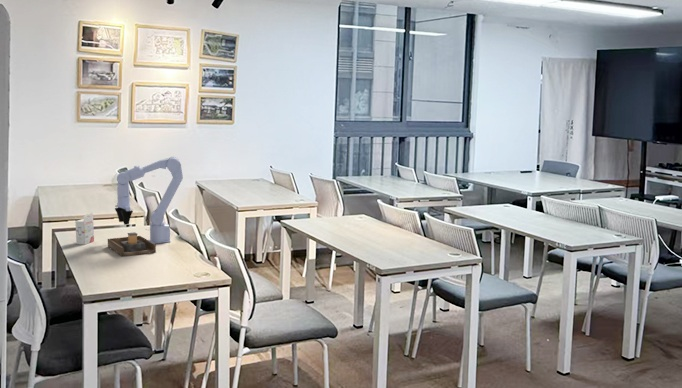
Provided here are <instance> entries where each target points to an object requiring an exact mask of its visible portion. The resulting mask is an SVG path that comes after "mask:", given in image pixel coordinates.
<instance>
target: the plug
mask: <svg viewBox="0 0 682 388" xmlns="http://www.w3.org/2000/svg"><path fill="white" fill-rule="evenodd" d="M137 236H139V235H138V233H137V232H127V237H128V244H137Z"/></svg>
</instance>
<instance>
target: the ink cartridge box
mask: <svg viewBox="0 0 682 388" xmlns="http://www.w3.org/2000/svg"><path fill="white" fill-rule="evenodd" d="M82 217H83V218H81V219H78V220H75V241H76V243H75V244H76V245H84V246H85V245H88V244H91V243H93V242H94V241H95V229H94V225H95V224H94V213H93V212H91V213H87V214H85V215H83V216H82Z"/></svg>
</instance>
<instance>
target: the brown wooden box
mask: <svg viewBox="0 0 682 388" xmlns="http://www.w3.org/2000/svg"><path fill="white" fill-rule="evenodd" d="M149 240H150V239H147V238H145V237H143V236H141V235H137V244H128V236H125V237H114V238H107V247H108V248H109V249H110V248H111V249H110V250H111V251H113V252H114V253H116V254H117V255H120V256H121V257H130V256H139V255H145V254H146V255H147V254H156V253H157V249H156V247H157V245H156V244H157V243H152V242H150V241H149Z"/></svg>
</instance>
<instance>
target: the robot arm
mask: <svg viewBox="0 0 682 388" xmlns="http://www.w3.org/2000/svg"><path fill="white" fill-rule="evenodd" d="M159 169H164V170H168V171H169V172H170V174H171V177H172V179H171V181H170V183H169V184H168V186H167V188H166V190H165V192H164V194H163V196H162V198H161V199H160V202H159V203H158V205H157V207H156V209H155V210H153V211H152V213H151V214H150V223H149V239H148V240H149V241H150V242H152V243H154V244H161V243H171V227H170V225H169V223H165V222H164V218H165V214H166V212H167V210H168V207H169V206H170V204H171V203H172V200H173V198H174V196H175V194H176V193H177V191H178V188H179V187H180V185H181V182H182V181H183V170H182V164H181V162H180V159H179V158H178V157H175V156H170V157H168V158H163V159H160V160H157V161H154V162H152V163H150V164H148V165H145V166H140V165H135V166H133V168H130V169H128V170H127V169H124V171H122V172H119V173H118V174H117V176H116V181H117V184H116V185H117V190H116V191H117V192H116V194H117V203H116V204H115V206H114V207H115V208H114V210H115V212H116V215H117V219H118V221H119V223H123V225H129V224H130V222H131V221H130V219H131V216H132V214H133V212H134V210H131V203H130V202H131V201H130V199H131V198H130V182H133V181H136V180H138V179H141V178H143V177H145V174H146V173H149V172H153V171H156V170H159Z"/></svg>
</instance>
